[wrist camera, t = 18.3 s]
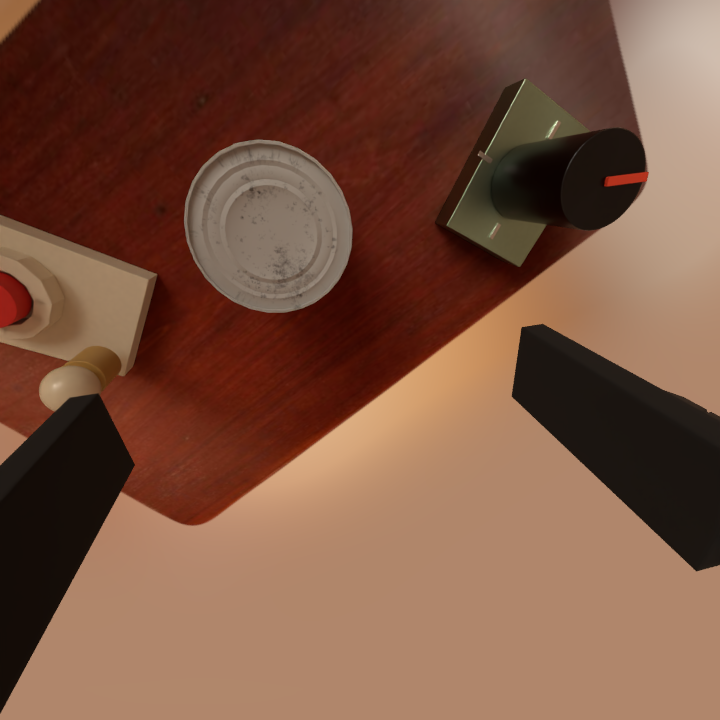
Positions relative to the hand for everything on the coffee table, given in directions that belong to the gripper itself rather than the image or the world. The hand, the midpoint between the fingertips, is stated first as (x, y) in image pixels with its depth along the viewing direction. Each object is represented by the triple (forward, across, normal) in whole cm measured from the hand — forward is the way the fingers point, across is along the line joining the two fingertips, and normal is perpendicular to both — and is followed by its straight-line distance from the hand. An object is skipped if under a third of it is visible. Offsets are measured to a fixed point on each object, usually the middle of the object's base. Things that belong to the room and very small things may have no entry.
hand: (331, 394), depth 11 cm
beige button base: (+25, -21, -1) cm, 33 cm away
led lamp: (+21, -18, -6) cm, 29 cm away
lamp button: (+21, -23, 0) cm, 32 cm away
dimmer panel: (+25, +20, +4) cm, 32 cm away
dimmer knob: (+22, +20, +4) cm, 30 cm away
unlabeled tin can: (+25, -2, +3) cm, 25 cm away
